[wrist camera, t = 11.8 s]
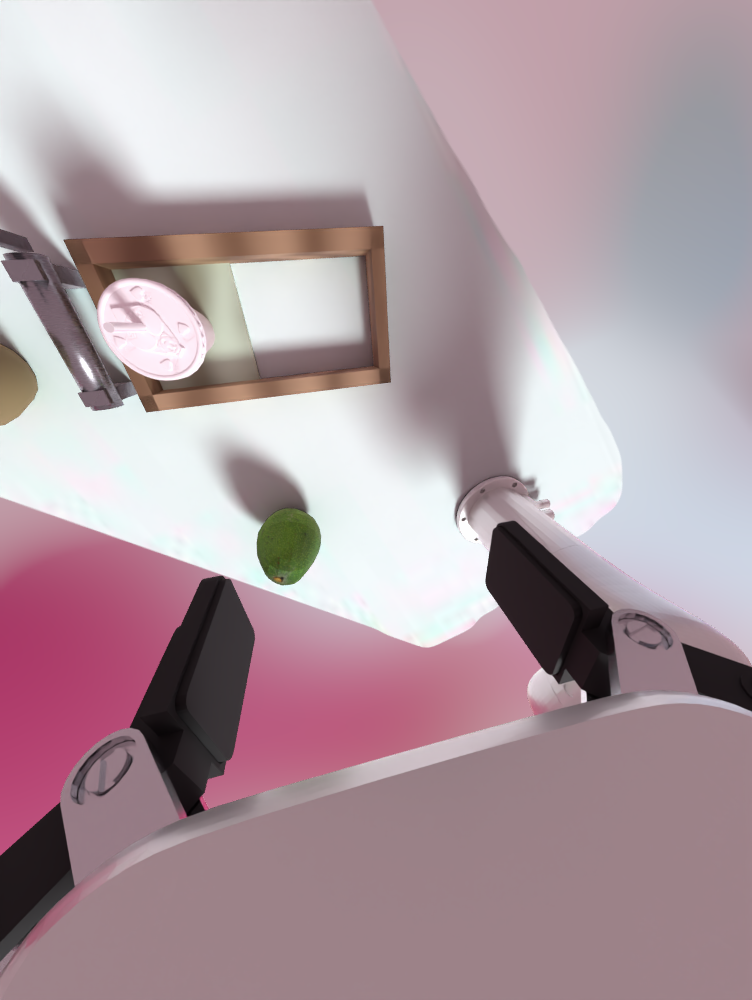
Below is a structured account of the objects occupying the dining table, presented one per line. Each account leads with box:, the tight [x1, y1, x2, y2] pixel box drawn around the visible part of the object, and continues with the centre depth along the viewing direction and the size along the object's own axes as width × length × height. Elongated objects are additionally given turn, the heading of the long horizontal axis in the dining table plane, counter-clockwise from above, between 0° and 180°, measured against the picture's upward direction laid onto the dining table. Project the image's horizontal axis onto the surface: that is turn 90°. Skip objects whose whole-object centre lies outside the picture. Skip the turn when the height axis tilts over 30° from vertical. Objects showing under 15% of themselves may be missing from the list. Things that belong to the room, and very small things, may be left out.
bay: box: [64, 226, 391, 412], centre depth 29 cm, size 25×13×3 cm, turn 94°
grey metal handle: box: [0, 229, 137, 411], centre depth 24 cm, size 2×12×8 cm, turn 4°
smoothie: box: [97, 278, 215, 381], centre depth 23 cm, size 6×6×14 cm
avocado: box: [257, 508, 321, 585], centre depth 37 cm, size 8×8×12 cm
